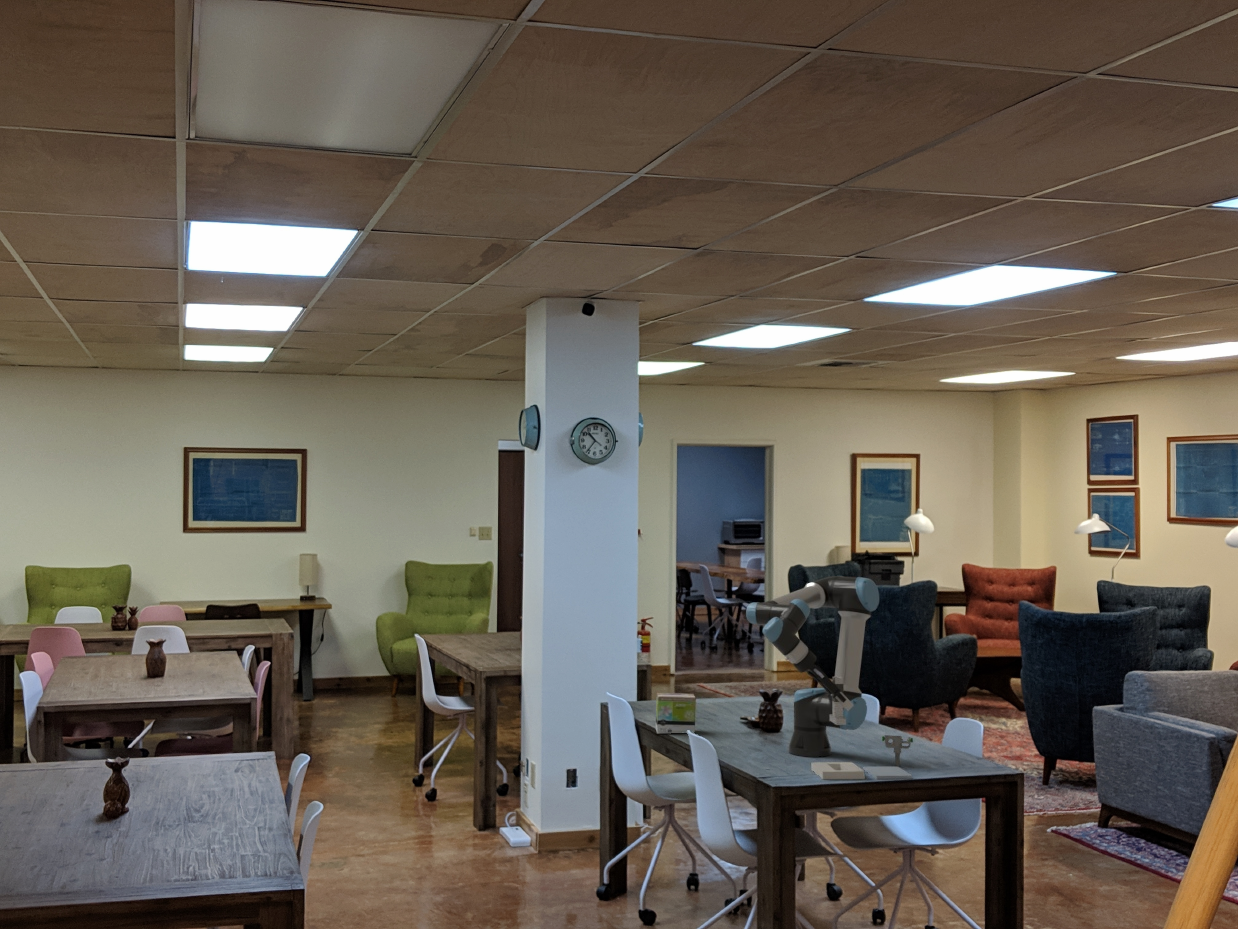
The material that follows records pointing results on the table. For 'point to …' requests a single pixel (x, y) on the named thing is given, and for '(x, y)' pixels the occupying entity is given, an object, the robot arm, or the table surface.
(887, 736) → the mechanical component
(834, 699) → the t key
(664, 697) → the tea box
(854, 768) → the block
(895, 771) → the pad
